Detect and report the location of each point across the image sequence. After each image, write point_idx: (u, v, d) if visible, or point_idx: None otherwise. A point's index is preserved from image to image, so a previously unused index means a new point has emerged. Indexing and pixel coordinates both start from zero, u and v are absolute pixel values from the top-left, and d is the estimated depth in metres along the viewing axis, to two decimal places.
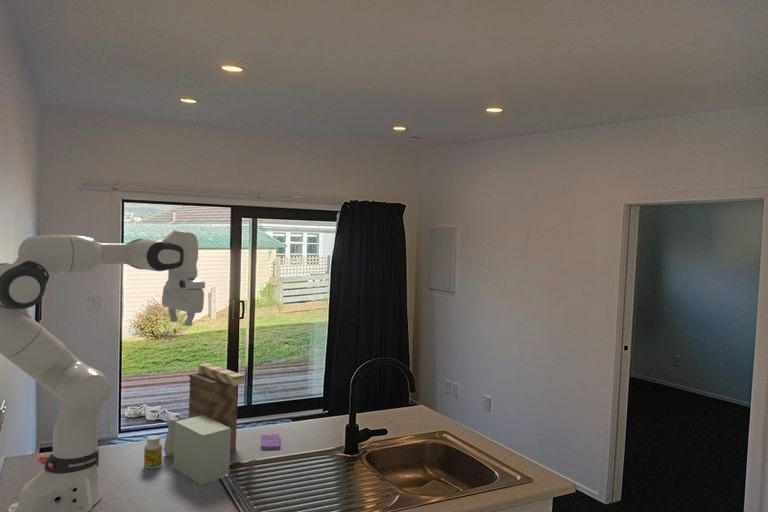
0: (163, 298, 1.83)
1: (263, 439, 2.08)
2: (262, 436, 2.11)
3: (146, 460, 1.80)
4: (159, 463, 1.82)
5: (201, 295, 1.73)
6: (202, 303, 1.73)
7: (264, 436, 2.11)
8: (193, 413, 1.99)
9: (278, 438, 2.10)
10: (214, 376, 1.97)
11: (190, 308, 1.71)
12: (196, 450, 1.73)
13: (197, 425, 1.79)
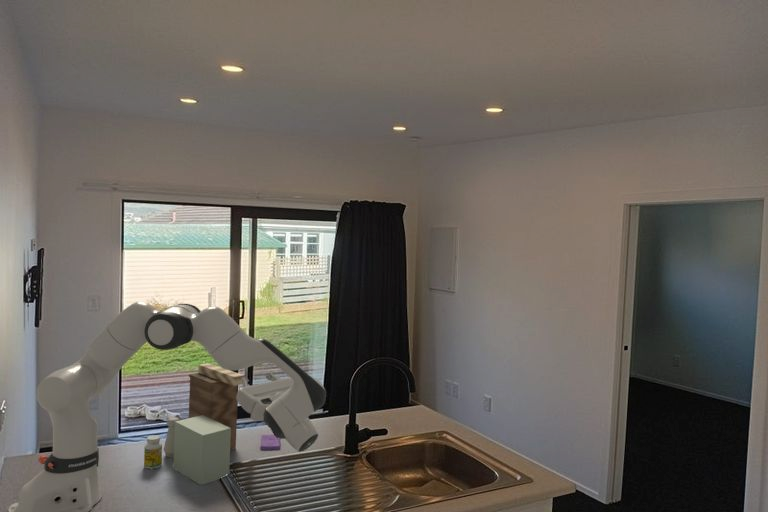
0: (291, 383, 1.76)
1: (263, 439, 2.08)
2: (262, 436, 2.11)
3: (146, 460, 1.80)
4: (159, 463, 1.82)
5: (244, 407, 1.62)
6: (239, 403, 1.63)
7: (264, 436, 2.11)
8: (193, 413, 1.99)
9: (278, 438, 2.10)
10: (214, 376, 1.97)
11: (243, 390, 1.64)
12: (196, 450, 1.73)
13: (197, 425, 1.79)
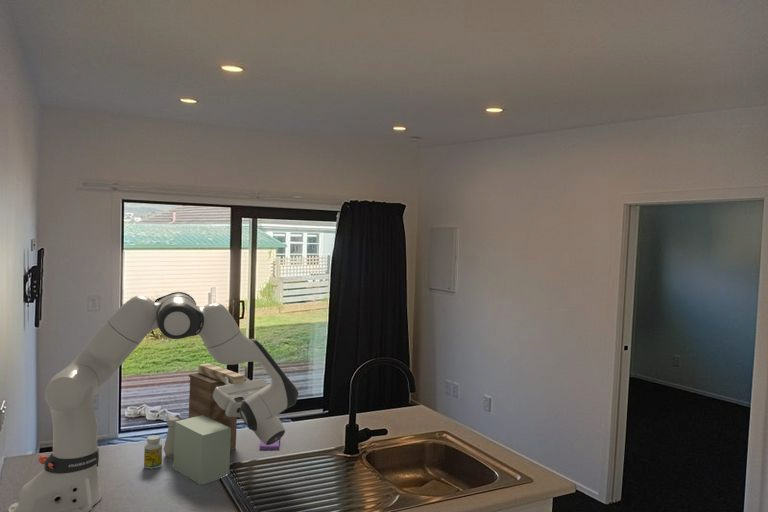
0: (264, 383, 1.95)
1: None
2: None
3: (146, 460, 1.80)
4: (159, 463, 1.82)
5: (220, 404, 1.81)
6: (215, 400, 1.82)
7: None
8: (193, 413, 1.99)
9: None
10: (214, 376, 1.97)
11: (219, 389, 1.82)
12: (196, 450, 1.73)
13: (197, 425, 1.79)
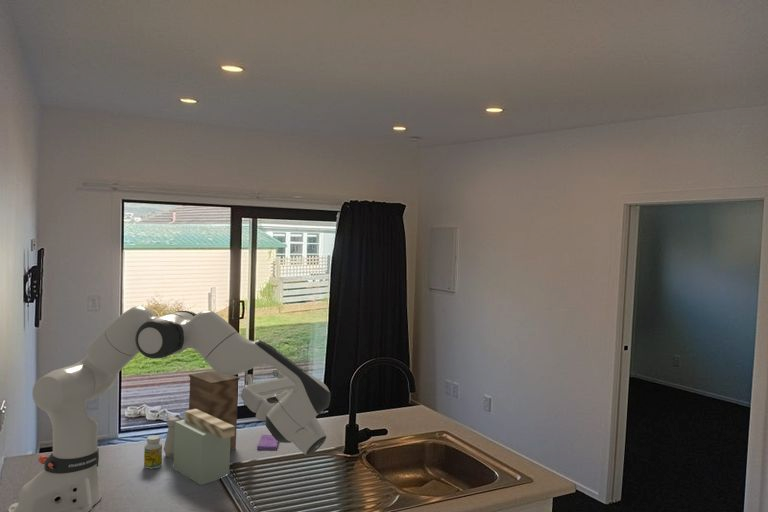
0: None
1: (262, 439, 2.08)
2: (262, 436, 2.11)
3: (146, 460, 1.80)
4: (159, 463, 1.82)
5: (249, 406, 1.53)
6: (244, 401, 1.55)
7: (264, 436, 2.12)
8: None
9: None
10: (201, 426, 1.76)
11: (248, 388, 1.55)
12: (196, 450, 1.73)
13: None
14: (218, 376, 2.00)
